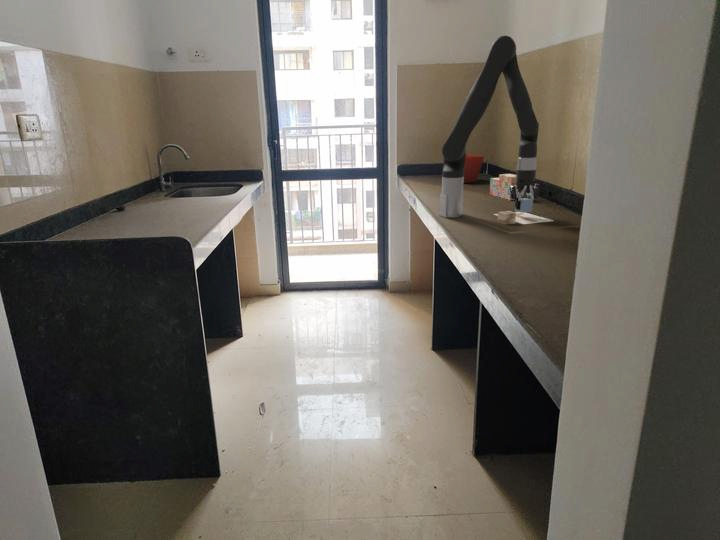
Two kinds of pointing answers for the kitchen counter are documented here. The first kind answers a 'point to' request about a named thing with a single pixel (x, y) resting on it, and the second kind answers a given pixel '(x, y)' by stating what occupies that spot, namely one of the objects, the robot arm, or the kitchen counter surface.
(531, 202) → the blue-grey cube
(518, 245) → the kitchen counter surface
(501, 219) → the beech block
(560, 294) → the kitchen counter surface
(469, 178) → the plant pot
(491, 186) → the stack of blocks
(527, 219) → the letter mat
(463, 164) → the robot arm
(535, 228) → the kitchen counter surface
